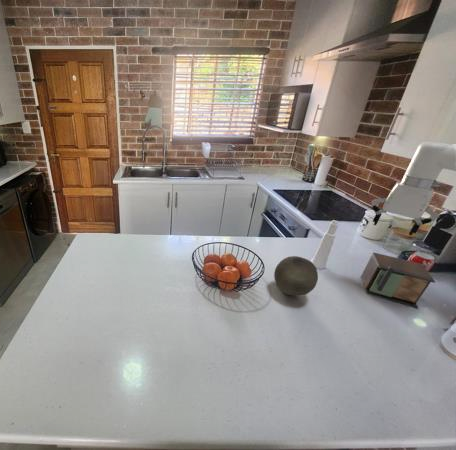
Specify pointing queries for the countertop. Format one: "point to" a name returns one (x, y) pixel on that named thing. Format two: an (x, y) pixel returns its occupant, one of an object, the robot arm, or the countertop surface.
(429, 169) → the robot arm
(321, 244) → the cosmetic bottle
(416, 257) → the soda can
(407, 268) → the cupboard
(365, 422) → the countertop surface
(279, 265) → the cantaloupe
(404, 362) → the countertop surface
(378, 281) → the sliding door
